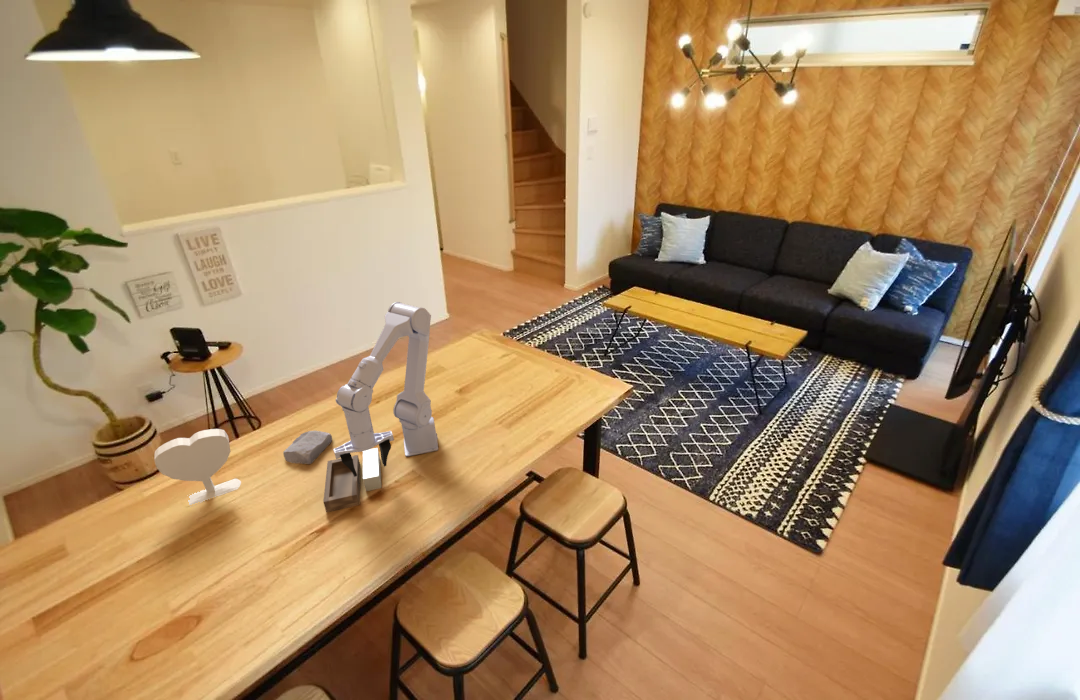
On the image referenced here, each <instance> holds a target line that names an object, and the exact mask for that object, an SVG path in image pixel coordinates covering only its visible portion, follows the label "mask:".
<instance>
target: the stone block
mask: <svg viewBox="0 0 1080 700" xmlns="http://www.w3.org/2000/svg"><path fill="white" fill-rule="evenodd" d="M332 441H333V436H332V434H331V433H330V432H326V431H320V430H307V431H305V432H303V433H301V434H300V435H299V436H298V437H296V438H295V439H294V441H292V443H291V444H290V445H289V446H288V447H287V448H285V450H284V451H283V452H282V453H283V457H284V459H285V461H286V462H289V463H291V464H302V465H305V464H307V465H311V464H312V463H314V462H315V460H317V458H318V457H319V456H321V454H322V453H323V452H324V451H325V450H326V448H328V446H329V445H330V444H331V443H332Z"/></svg>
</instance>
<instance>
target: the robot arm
mask: <svg viewBox="0 0 1080 700" xmlns="http://www.w3.org/2000/svg"><path fill="white" fill-rule="evenodd" d="M431 318H432V314H431V313H430V312H429V311H428V310H427V309H426V308H425V307H422V306H421V307H419V306H415V305H411V304H408V303H407V304H406V303H403V302H400V301H395V302H393V303H391V304H390V306H389V307H388V309H387V312H386V313H385V315H384V323H385V324H384V326H383V328H382V331H381V333H380V335H379V336H378V338H377V341H376V343H375V345H374V347H373V349H372V350H371V353H369V354H370V355H368V356H366V357H363V358H362V359H361V361H359V363H358V365H357V367H356V369H355V370H354V372H353V374H352V375H351V377H350V379H349V380H348V382H347V383H346V384H344V385H341V387H340V388H339V389H338V391H337V393H336V398H335V403H336V405H338V406H340V408H341V410H342V411H343V414H344V417H345V422H346V425H347V426H346V427H347V429H348V433H349V434H348V435H349V437H350V440H349V441H347V442H345V443H343V444H342V445H339V446H337V447H334V448H333V449H332V450H333V453H334V457H335V459H340V458H341V460H342V462H343V464H345V465H346V466H347V467H348V468H349V469H350V470H351V471H352V473H353V475H354V477H356V476H357V473H356V471H355V468H354V464H353V459H352V457H351V456H352V453H360V452H363V451H366V450H369V449H374V448H375V447H376V446H379V448H378V449H379V451H380V461H381V463H382V465H383V467H384V468H385V467H387V466H388V465H387V464H388V456H389V453H390V451H391V449H392V444H391V442H392V441H394V440H395V439H394V434H393V431H392V430H389V431H388V430H387V431H383V432H374V426H373V423H372V418H371V413H370V409H369V406H370V405H371V404H372V401H373V393H374V389H373V388H374V387H375V386H376V383H377V382H378V380H379V379H380V376H381V375H382V373H383V371H384V366H383V363H384V360H385V359H386V358H387V356H388V355H389V353H390V352H391V350H392V349H393V347H394V346H395V345H396V343H397V341H398V340H399V339H400V338H403V337H406V336H407V337H408V343H407V344H408V345H407V353H406V365H405V375H404V376H405V377H404V386H403V387H404V388H403V391H401V392H400V393H398V394H396V401H395V403H394V405H393V410H392V411H393V412H392V413H393V416H394V417H395V418H397V419H398V420H399V421H398V422H399V423H400V425H401V429H402V435H403V446H404V456H405V457H411V456H416V455H421V454H427V453H432V452H437V451H439V444H438V439H439V437H438V432H437V431H436V423H435V420H434V417H433V416H432V415H433V414H432V413H433V411H432V408H431V407H432V405H431V399H430V397H429V396H428V395H427V394H426V392H425V382H426V373H427V363H428V353H429V342H430V334H431V332H430V330H431V329H430V328H431Z"/></svg>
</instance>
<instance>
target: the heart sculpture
mask: <svg viewBox="0 0 1080 700" xmlns="http://www.w3.org/2000/svg"><path fill="white" fill-rule="evenodd" d="M230 454H231V444H230V438H229V435H228V434H227V432H226V431H225V429H221V428H211V429H203V430H200V431H197V432H195V433H193V434H192V435H191V436H190V437H176V438H173V439H171V440H169V441H167V442H165V443H163V444H162V445H160V446H159V447H157V449H155V451H154V456H153V457H154V464H155V467H156V469H157V470H158V471H159V472H160V473H161V474H162V475H164V476H166V477H168V478H171V479H172V480H179V481H185V482H202V484H203V486H204V489H205V490H204V489H201V490H199V491H200V492H199V491H196V492H197V493H196V492H194V494H193V493H191V494H192V495H190V494H189V495H190V496H189V498H190V500H188V502H189V505H192V504H195V503H198V502H200V503H199V504H201V503H203V501H204V502H206V501H205V500H207V501H209V500H211V499H210V498H212V499H214V498H213V497H215V498H217V497H216V496H218V497H221V496H222V495H225V494H228V493H231V492H233V491H237V490H239V488H240V486H241V484H242V481H241V480H240V479H238V478H233V479H230V480H227V481H225V482H221V483H219V484H216V485H215V484H214V482H213V480H212V477H213V476H214V475H215V474H216V473H217V472H218V471H219V470H221V468H222V467H223V466H224V465H225V464H226V463H227V461H228V459H229V457H230ZM208 499H209V500H208Z"/></svg>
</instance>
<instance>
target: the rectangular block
mask: <svg viewBox="0 0 1080 700" xmlns="http://www.w3.org/2000/svg"><path fill="white" fill-rule="evenodd" d="M362 480H363V486H364V490H365V492H369V491H374V490H378V489H381V488H382V471H381V455H380V453H379V448H378V447H373V448H371V449H369V450H366V451H362Z"/></svg>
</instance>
